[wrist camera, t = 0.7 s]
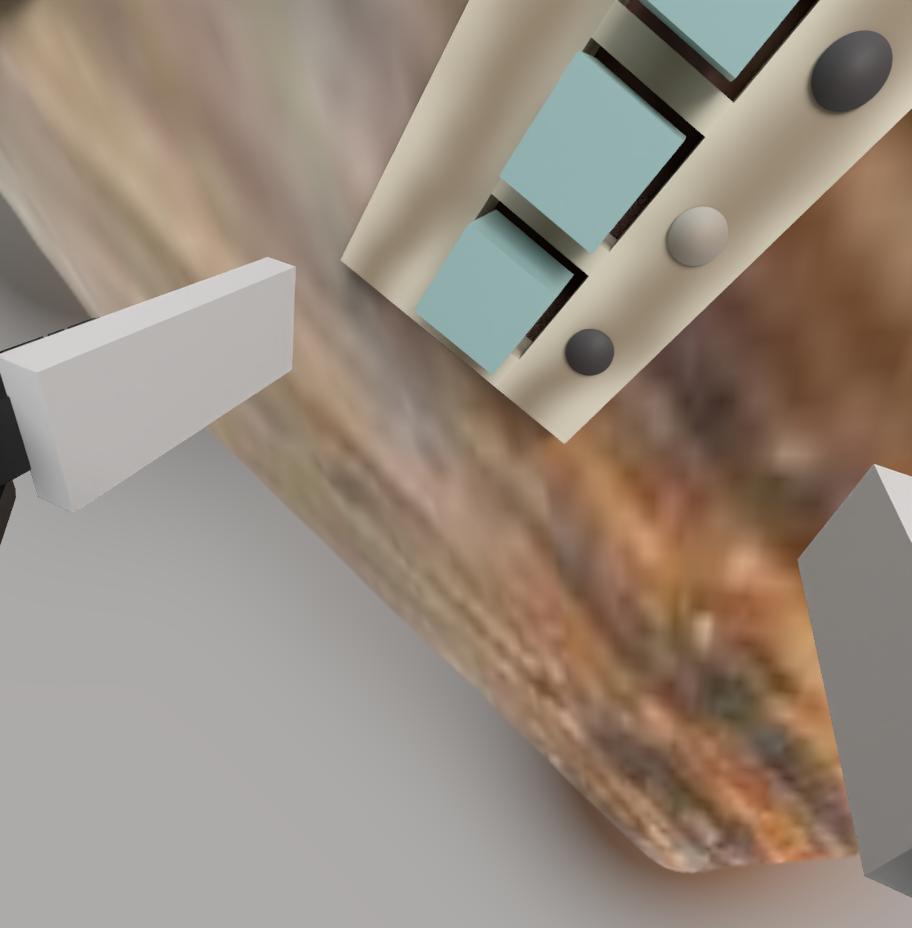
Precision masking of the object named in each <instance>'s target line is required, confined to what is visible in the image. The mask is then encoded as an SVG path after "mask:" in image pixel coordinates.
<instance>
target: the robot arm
mask: <svg viewBox="0 0 912 928" xmlns="http://www.w3.org/2000/svg"><path fill="white" fill-rule="evenodd" d="M295 270H296V267H295V266H292V265H289V264H286V263H283V262H281V261H278V260H275V259H272V258H269V257H266V258H264V259H261V260H258V261H255V262H253V263H250V264H247V265H244V266H242V267H239V268H236V269H233V270H230V271H228V272H225V273H222V274H219V275H217V276H214V277H211V278H208V279H205V280H203V281H200V282H197V283H194V284H192V285H189V286H186V287H183V288H181V289H178V290H175V291H172V292H169V293H167V294H164V295H161V296H158V297H156V298H153V299H150V300H147V301H145V302H142V303H139V304H136V305H133V306H131V307H128V308H125V309H122V310H120V311H117V312H114V313H111V314H108V315H106V316H103V317H99V318H93V319H90V320H87V321H84V322H81V323H79V324H76V325H73V326H70V327H68V329H67V330H64V329H62V330H59V331H56V332H54V333H51V334H48V336H47V337H39V338H37V339H34V340H31V341H28V342H25V343H23V344H20V345H17V346H14V347H11V348H9V349H6V350H3V351H1V352H0V544H1V541H2V538H3V535H4V532H5V529H6V526H7V523H8V520H9V517H10V513H11V511H12V508H13V505H14V501H15V498H16V494H15V487H14V483H13V479H15V478H17V477H18V476H20V475H22V474H24V473H26V472H27V471H29V470H30V471H31V475H32V478H33V481H34V484H35V488H36V491H37V494H38V497H39V498H42V499H44V500H46V501H48V502H50V503H53V504H55V505H57V506H59V507H61V508H64V509H66V510H68V511H70V512H72V513H75V512H76V511H78V510H79V509H81V508H83V507H84V506H86V505H87V504H88V503H90V502H92V501H93V500H95V499H96V498H98V497H99V496H101V495H102V494H104V493H105V492H107V491H108V490H110V489H111V488H113V487H114V486H116V485H118V484H119V483H120V482H122V481H123V480H125V479H127V478H128V477H130V476H131V475H133V474H134V473H136V472H137V471H139V470H140V469H141V468H143V467H145V466H146V465H148V464H149V463H151V462H152V461H154V460H155V459H157V458H159V457H160V456H161V455H163V454H165V453H166V452H168V451H169V450H171V449H172V448H174V447H175V446H177V445H178V444H180V443H181V442H182V441H184V440H186V439H187V438H189V437H190V436H192V435H193V434H195V433H197V432H198V431H200V430H201V429H203V428H204V427H206V426H207V425H209V424H210V423H212V422H213V421H215V420H216V419H218V418H219V417H221V416H222V415H224V414H225V413H227V412H228V411H230V410H231V409H233V408H235V407H236V406H238V405H239V404H241V403H242V402H244V401H245V400H247V399H248V398H250V397H251V396H253V395H254V394H256V393H257V392H259V391H260V390H262V389H263V388H265V387H266V386H268V385H269V384H271V383H273V382H274V381H276V380H277V379H279V378H280V377H282V376H283V375H285V374H286V373H288V372H289V371H291V370H292V360H293V330H294V300H295ZM798 565H799V569H800V574H801V579H802V584H803V588H804V593H805V598H806V602H807V607H808V612H809V617H810V621H811V626H812V631H813V636H814V640H815V645H816V650H817V654H818V659H819V664H820V669H821V673H822V678H823V683H824V687H825V692H826V697H827V702H828V706H829V711H830V716H831V720H832V725H833V730H834V735H835V739H836V744H837V749H838V754H839V758H840V763H841V768H842V772H843V777H844V782H845V787H846V791H847V796H848V801H849V805H850V810H851V815H852V820H853V824H854V829H855V834H856V838H857V843H858V848H859V853H860V857H861V862H862V867H863V872H864V875H865V876H866V877H868V878H870V879H872V880H875V881H877V882H879V883H881V884H883V885H885V886H888V887H890V888H892V889H894V890H896V891H899V892H901V893H903V894H905V895H907V896H910V897H912V477H911V476H908V475H905V474H902V473H899V472H896V471H893V470H890V469H887V468H884V467H881V466H878V465H876V464H873V465H872V467H871V468H870V469H869V470H868V472H867V473H866V474H865V475H864V477H863V478H862V479H861V481H860V482H859V483H858V484H857V486H856V487H855V488H854V489H853V491H852V492H851V493H850V494H849V496H848V497H847V498H846V499H845V501H844V502H843V503H842V504H841V506H840V507H839V508H838V509H837V511H836V512H835V513H834V514H833V516H832V517H831V518H830V519H829V521H828V522H827V523H826V524H825V526H824V527H823V528H822V529H821V531H820V532H819V533H818V534H817V536H816V537H815V538H814V540H813V541H812V542H811V543H810V545H809V546H808V547H807V548H806V550H805V551H804V552H803V553H802V555H801V556H800V557H799V558H798Z"/></svg>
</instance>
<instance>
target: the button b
mask: <svg viewBox="0 0 912 928" xmlns="http://www.w3.org/2000/svg"><path fill="white" fill-rule="evenodd" d="M685 138H686V136H685V135H684V134H683V133H681V132H680V131H679V130H678V129H677V128H676V127H675V126H673V125H672V124H671V123H670V122H669V121H668V120H667V119H665V118H664V117H663V116H662V115H661V114H660V113H659V112H657V111H656V110H655V109H654V108H653V107H652V106H651V105H649V104H648V103H647V102H646V101H645V100H644V99H643V98H641V97H640V96H639V95H638V94H637V93H636V92H635V91H633V90H632V89H631V88H630V87H629V86H628V85H627V84H625V83H624V82H623V81H622V80H621V79H620V78H619V77H617V76H616V75H615V74H614V73H613V72H612V71H611V70H609V69H608V68H607V67H606V66H605V65H604V64H603V63H601V62H600V61H599V60H598V59H597V58H595V57H593V56H591V55H589V54H586V53H584V52H582V51H580V50H578V52H577V53H576V55H575V56H574V58H573V59H572V61H571V63H570V64H569V66H568V67H567V69H566V70H565V72H564V74H563V75H562V77H561V78H560V80H559V82H558V83H557V85H556V86H555V88H554V89H553V91H552V93H551V94H550V96H549V97H548V99H547V101H546V102H545V104H544V105H543V107H542V108H541V110H540V112H539V113H538V115H537V116H536V118H535V119H534V121H533V123H532V124H531V126H530V127H529V129H528V131H527V132H526V134H525V135H524V137H523V138H522V140H521V142H520V143H519V145H518V146H517V148H516V150H515V151H514V153H513V154H512V156H511V157H510V159H509V161H508V162H507V164H506V165H505V167H504V169H503V170H502V172H501V173H500V175H499V176H500V177H501V178H502V179H503V180H504V181H506V182H507V183H508V184H509V185H510V186H511V187H513V188H514V189H515V190H516V191H517V192H519V193H520V194H521V195H522V196H523V197H524V198H526V199H527V200H528V201H529V202H530V203H531V204H533V205H534V206H535V207H536V208H537V209H539V210H540V211H541V212H542V213H543V214H544V215H546V216H547V217H548V218H549V219H550V220H552V221H553V222H554V223H555V224H556V225H557V226H559V227H560V228H561V229H562V230H563V231H565V232H566V233H567V234H568V235H569V236H570V237H572V238H573V239H574V240H575V241H576V242H577V243H579V244H580V245H581V246H582V247H583V248H585V249H586V250H587V251H588V252H589V253H590V254H592V253H593V252H594V251H595V250H596V248H597V247H598V246H599V245H600V243H601V242H602V241H603V240H604V239H605V237H606V236H607V235H608V234H609V232H610V231H611V230H612V229H613V228H614V226H615V225H616V224H617V223H618V221H619V220H620V219H621V218H622V217H623V215H624V214H625V213H626V212H627V210H628V209H629V208H630V207H631V206H632V204H633V203H634V202H635V201H636V199H637V198H638V197H639V196H640V195H641V193H642V192H643V191H644V190H645V188H646V187H647V186H648V185H649V183H650V182H651V181H652V180H653V179H654V177H655V176H656V175H657V174H658V172H659V171H660V170H661V169H662V168H663V166H664V165H665V164H666V163H667V161H668V160H669V159H670V158H671V157H672V155H673V154H674V153H675V152H676V150H677V149H678V148H679V147H680V146H681V144H682V143H683V142H684V140H685Z"/></svg>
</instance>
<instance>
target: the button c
mask: <svg viewBox="0 0 912 928" xmlns="http://www.w3.org/2000/svg"><path fill="white" fill-rule="evenodd" d="M638 1H640V2H641V3H642V4H643V5H644V6H645V7H646V8H647V9H649V10H650V11H651V12H652V13H653V14H654V15H655V16H657V17H658V18H659V19H660V20H661V21H662V22H663V23H664V24H666V25H667V26H668V27H669V28H670V29H671V30H672V31H673V32H675V33H676V34H677V35H678V36H679V37H680V38H681V39H682V40H684V41H685V42H686V43H687V44H688V45H689V46H690V47H691V48H693V49H694V50H695V51H696V52H697V53H698V54H699V55H701V56H702V57H703V58H704V59H705V60H706V61H707V62H708V63H710V64H711V65H712V66H713V67H714V68H715V69H716V70H717V71H719V72H720V73H721V74H722V75H723V76H724V77H725V78H726V79H728V80H729V81H730V82H732V81H733V80H734V79H735V78H736V77H737V76H738V74H739V73H740V72H741V71H742V70H743V68H744V67H745V66H746V65H747V63H748V62H749V61H750V60H751V59H752V57H753V56H754V55H755V54H756V52H757V51H758V50H759V49H760V48H761V46H762V45H763V44H764V43H765V41H766V40H767V39H768V38H769V37H770V35H771V34H772V33H773V32H774V30H775V29H776V28H777V27H778V26H779V24H780V23H781V22H782V21H783V19H784V18H785V17H786V16H787V14H788V13H789V12H790V11H791V10H792V8H793V7H794V6H795V5H796V3H797V2H798V1H799V0H638Z"/></svg>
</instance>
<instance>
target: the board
mask: <svg viewBox="0 0 912 928" xmlns="http://www.w3.org/2000/svg"><path fill="white" fill-rule="evenodd" d="M629 2H630V0H469V2H468V4H467V6H466V8H465V10H464V12H463V14H462V16H461V18H460V20H459V22H458V24H457V26H456V28H455V30H454V32H453V34H452V36H451V38H450V40H449V42H448V44H447V46H446V48H445V50H444V52H443V54H442V56H441V58H440V60H439V62H438V64H437V66H436V68H435V70H434V72H433V75H432V77H431V79H430V81H429V83H428V85H427V87H426V89H425V91H424V93H423V95H422V97H421V99H420V101H419V103H418V105H417V107H416V109H415V111H414V113H413V115H412V117H411V119H410V121H409V123H408V125H407V127H406V129H405V131H404V133H403V135H402V137H401V139H400V141H399V143H398V145H397V147H396V149H395V151H394V153H393V155H392V157H391V159H390V161H389V163H388V165H387V167H386V169H385V171H384V173H383V175H382V177H381V179H380V181H379V183H378V185H377V187H376V189H375V191H374V194H373V196H372V198H371V200H370V202H369V204H368V206H367V208H366V210H365V212H364V214H363V216H362V218H361V220H360V222H359V224H358V226H357V228H356V230H355V232H354V234H353V236H352V238H351V240H350V242H349V244H348V246H347V248H346V250H345V252H344V254H343V256H342V258H341V261H342V262H343V263H345V264H346V265H347V266H348V267H349V268H351V269H352V270H353V271H354V272H355V273H357V274H358V275H359V276H360V277H362V278H363V279H364V280H365V281H366V282H368V283H369V284H370V285H371V286H373V287H374V288H375V289H376V290H377V291H379V292H380V293H381V294H382V295H384V296H385V297H386V298H387V299H388V300H390V301H391V302H392V303H393V304H394V305H396V306H397V307H398V308H399V309H401V310H402V311H403V312H404V313H405V314H407V315H408V316H409V317H410V318H412V319H413V320H414V321H415V322H416V323H418V324H419V325H420V326H421V327H423V328H424V329H425V330H426V331H427V332H429V333H430V334H431V335H432V336H433V337H435V338H436V339H437V340H438V341H440V342H441V343H442V344H443V345H444V346H446V347H447V348H448V349H449V350H451V351H452V352H453V353H454V354H455V355H457V356H458V357H459V358H460V359H461V360H463V361H464V362H465V363H466V364H468V365H469V366H470V367H471V368H472V369H474V370H475V371H476V372H477V373H479V374H480V375H481V376H482V377H483V378H485V379H486V380H487V381H488V382H490V383H491V384H492V385H493V386H494V387H496V388H497V389H498V390H499V391H500V392H502V393H503V394H504V395H505V396H507V397H508V398H509V399H510V400H511V401H513V402H514V403H515V404H516V405H518V406H519V407H520V408H521V409H522V410H524V411H525V412H526V413H527V414H529V415H530V416H531V417H532V418H533V419H535V420H536V421H537V422H538V423H539V424H541V425H542V426H543V427H544V428H546V429H547V430H548V431H549V432H550V433H552V434H553V435H554V436H555V437H557V438H558V439H559V440H560V441H561V442H563V443H564V444H565V443H566V442H567V441H568V440H569V439H570V438H571V437H572V436H573V435H574V434H575V433H576V432H577V431H578V430H579V429H580V428H581V427H583V426H584V425H585V424H586V423H587V422H588V421H589V420H590V419H591V418H592V417H593V416H594V415H595V414H596V413H597V412H598V411H599V410H600V409H601V408H602V407H603V406H604V405H605V404H606V403H607V402H608V401H609V400H610V399H611V398H613V397H614V396H615V395H616V394H617V393H618V392H619V391H620V390H621V389H622V388H623V387H624V386H625V385H626V384H627V383H628V382H629V381H630V380H631V379H632V378H633V377H634V376H635V375H636V374H637V373H638V372H639V371H640V370H641V369H643V368H644V367H645V366H646V365H647V364H648V363H649V362H650V361H651V360H652V359H653V358H654V357H655V356H656V355H657V354H658V353H659V352H660V351H661V350H662V349H663V348H664V347H665V346H666V345H667V344H668V343H669V342H670V341H672V340H673V339H674V338H675V337H676V336H677V335H678V334H679V333H680V332H681V331H682V330H683V329H684V328H685V327H686V326H687V325H688V324H689V323H690V322H691V321H692V320H693V319H694V318H695V317H696V316H697V315H698V314H699V313H700V312H702V311H703V310H704V309H705V308H706V307H707V306H708V305H709V304H710V303H711V302H712V301H713V300H714V299H715V298H716V297H717V296H718V295H719V294H720V293H721V292H722V291H723V290H724V289H725V288H726V287H727V286H728V285H729V284H731V283H732V282H733V281H734V280H735V279H736V278H737V277H738V276H739V275H740V274H741V273H742V272H743V271H744V270H745V269H746V268H747V267H748V266H749V265H750V264H751V263H752V262H753V261H754V260H755V259H756V258H757V257H758V256H759V255H761V254H762V253H763V252H764V251H765V250H766V249H767V248H768V247H769V246H770V245H771V244H772V243H773V242H774V241H775V240H776V239H777V238H778V237H779V236H780V235H781V234H782V233H783V232H784V231H785V230H786V229H787V228H788V227H790V226H791V225H792V224H793V223H794V222H795V221H796V220H797V219H798V218H799V217H800V216H801V215H802V214H803V213H804V212H805V211H806V210H807V209H808V208H809V207H810V206H811V205H812V204H813V203H814V202H815V201H816V200H817V199H818V198H820V197H821V196H822V195H823V194H824V193H825V192H826V191H827V190H828V189H829V188H830V187H831V186H832V185H833V184H834V183H835V182H836V181H837V180H838V179H839V178H840V177H841V176H842V175H843V174H844V173H845V172H846V171H847V170H849V169H850V168H851V167H852V166H853V165H854V164H855V163H856V162H857V161H858V160H859V159H860V158H861V157H862V156H863V155H864V154H865V153H866V152H867V151H868V150H869V149H870V148H871V147H872V146H873V145H874V144H875V143H876V142H877V141H879V140H880V139H881V138H882V137H883V136H884V135H885V134H886V133H887V132H888V131H889V130H890V129H891V128H892V127H893V126H894V125H895V124H896V123H897V122H898V121H899V120H900V119H901V118H902V117H903V116H904V115H905V114H906V113H908V112H909V111H910V110H911V109H912V0H817V1H816V2H815V3H814V4H813V6H812V7H811V8H810V9H809V10H808V12H807V13H806V14H805V15H804V16H803V18H802V19H801V20H800V21H799V22H798V24H797V25H796V26H795V27H794V28H793V30H792V31H791V32H790V33H789V34H788V36H787V37H786V38H785V39H784V40H783V42H782V43H781V44H780V45H779V46H778V48H777V49H776V50H775V51H774V52H773V54H772V55H771V56H770V57H769V58H768V60H767V61H766V62H765V63H764V64H763V66H762V67H761V68H760V69H759V70H758V72H757V73H756V74H755V75H754V76H753V78H752V79H751V80H750V81H749V82H748V84H747V85H746V86H745V87H744V88H743V90H742V91H741V92H740V93H739V94H738V96H737V97H736V98H735V99H734V100H733V102H732V101H731V100H730V99H729V98H728V97H727V96H725V95H724V94H723V93H722V92H721V91H720V90H719V89H718V88H716V87H715V86H714V85H713V84H712V83H711V82H710V81H709V80H707V79H706V78H705V77H704V76H703V75H702V74H701V73H699V72H698V71H697V70H696V69H695V68H694V67H693V66H692V65H690V64H689V63H688V62H687V61H686V60H685V59H684V58H682V57H681V56H680V55H679V54H678V53H677V52H676V51H675V50H673V49H672V48H671V47H670V46H669V45H668V44H667V43H665V42H664V41H663V40H662V39H661V38H660V37H659V36H658V35H656V34H655V33H654V32H653V31H652V30H651V29H650V28H649V27H647V26H646V25H645V24H644V23H643V22H642V21H641V20H639V19H638V18H637V17H636V16H635V15H634V14H633V13H632V12H630V11H629V10H628V9H627V8H626V6H627V5H628V3H629ZM600 46H602V47H603V48H604V49H605V50H606V51H607V52H609V53H610V54H611V55H612V56H613V57H614V58H615V59H617V60H618V61H619V62H620V63H621V64H622V65H623V66H625V67H626V68H627V69H628V70H629V71H630V72H631V73H633V74H634V75H635V76H636V77H637V78H638V79H639V80H641V81H642V82H643V83H644V84H645V85H646V86H647V87H649V88H650V89H651V90H652V91H653V92H654V93H655V94H657V95H658V96H659V97H660V98H661V99H662V100H663V101H665V102H666V103H667V104H668V105H669V106H670V107H671V108H673V109H674V110H675V111H676V112H677V113H678V114H679V115H681V116H682V117H683V118H684V119H685V120H686V121H687V122H689V123H690V124H691V125H692V126H693V127H694V128H695V129H697V130H698V131H699V132H700V133H701V134H702V135H703V138H702V139H701V140H700V141H699V142H698V144H697V145H696V146H695V147H694V148H693V150H692V151H691V152H690V153H689V154H688V156H687V157H686V158H685V159H684V160H683V162H682V163H681V164H680V165H679V166H678V168H677V169H676V170H675V171H674V172H673V174H672V175H671V176H670V177H669V178H668V179H667V181H666V182H665V183H664V184H663V185H662V187H661V188H660V189H659V190H658V191H657V193H656V194H655V195H654V196H653V197H652V199H651V200H650V201H649V202H648V203H647V205H646V206H645V207H644V208H643V209H642V211H641V212H640V213H639V214H638V215H637V217H636V218H635V219H634V220H633V221H632V223H631V224H630V225H629V226H628V227H627V229H626V230H625V231H624V232H623V233H622V235H621V236H620V237H619V238H618V239H616V238H614V237H613V236H612V235H611V234H610V233H609V234H608V235H607V236H606V237H605V239H604V240H603V241H602V242H601V243H600V245H599V246H598V247H597V248H596V250H595V251H594V252H593V253H592V254H590V253H589V252H588V251H587V250H586V249H585V248H583V247H582V246H581V245H580V244H579V243H577V242H576V241H575V240H574V239H573V238H572V237H570V236H569V235H568V234H567V233H566V232H565V231H563V230H562V229H561V228H560V227H559V226H557V225H556V224H555V223H554V222H553V221H552V220H550V219H549V218H548V217H547V216H546V215H544V214H543V213H542V212H541V211H540V210H539V209H537V208H536V207H535V206H534V205H533V204H531V203H530V202H529V201H528V200H527V199H526V198H524V197H523V196H522V195H521V194H520V193H519V192H517V191H516V190H515V189H514V188H513V187H511V186H510V185H509V184H508V183H507V182H506V181H504V180H503V179H502V178H501V177H500V176H499V175H500V173H501V172H502V170H503V169H504V167H505V165H506V164H507V162H508V161H509V159H510V157H511V156H512V154H513V153H514V151H515V150H516V148H517V146H518V145H519V143H520V142H521V140H522V138H523V137H524V135H525V134H526V132H527V131H528V129H529V127H530V126H531V124H532V123H533V121H534V119H535V118H536V116H537V115H538V113H539V112H540V110H541V108H542V107H543V105H544V104H545V102H546V101H547V99H548V97H549V96H550V94H551V93H552V91H553V89H554V88H555V86H556V85H557V83H558V82H559V80H560V78H561V77H562V75H563V74H564V72H565V70H566V69H567V67H568V66H569V64H570V63H571V61H572V59H573V58H574V56H575V55H576V53H577V52H578V50H580V51H582V52H584V53H586V54H589V55H591V56H593V57H594V55H595V54H596V52H597V51H598V49H599V48H600ZM499 201H501V202H502V203H503V204H504V205H505V206H506V207H508V208H509V209H510V210H511V211H512V212H514V213H515V214H516V215H517V216H518V217H519V218H521V219H522V220H523V221H524V222H525V223H527V224H528V225H529V226H530V227H531V228H532V229H534V230H535V231H536V232H537V233H538V234H540V235H541V236H542V237H543V238H544V239H545V240H547V241H548V242H549V243H550V244H551V245H553V246H554V247H555V248H556V249H557V250H559V251H560V252H561V253H562V254H563V255H564V256H566V257H567V258H568V259H569V260H570V261H572V262H573V263H574V264H575V265H576V266H577V267H579V268H580V269H581V270H582V271H583V272H585V273H586V274H587V277H586V278H585V279H584V280H583V281H582V283H581V284H580V285H579V286H578V287H577V289H576V290H575V291H574V292H573V293H572V295H571V296H570V297H569V298H568V299H567V301H566V302H565V303H564V304H563V305H562V307H561V308H560V309H559V310H558V311H557V313H556V314H555V315H554V316H553V317H552V319H551V320H550V321H549V322H548V323H547V325H546V326H545V327H544V328H543V329H542V331H541V332H540V333H539V334H538V335H537V337H536V338H535V339H534V340H533V341H532V340H530V339H529V338H528V337H527V336H526V335H525V337H524V338H523V339H522V340H521V341H520V343H519V344H518V345H517V346H516V348H515V349H514V350H513V351H512V352H511V354H510V355H509V356H508V357H507V359H506V360H505V361H504V362H503V363H502V365H501V366H500V367H499V368H498V370H497V371H496V372H495V373H494V375H491V374H490V373H489V372H488V371H487V370H485V369H484V368H483V367H482V366H481V365H479V364H478V363H477V362H476V361H474V360H473V359H472V358H471V357H470V356H468V355H467V354H466V353H465V352H464V351H462V350H461V349H460V348H459V347H457V346H456V345H455V344H454V343H453V342H451V341H450V340H449V339H448V338H446V337H445V336H444V335H443V334H442V333H440V332H439V331H438V330H437V329H436V328H434V327H433V326H432V325H431V324H429V323H428V322H427V321H426V320H425V319H423V318H422V317H421V316H420V315H418V314H417V313H416V312H415V311H414V309H415V308H416V306H417V304H418V303H419V301H420V300H421V298H422V297H423V295H424V293H425V292H426V290H427V289H428V287H429V285H430V284H431V282H432V281H433V279H434V278H435V276H436V274H437V273H438V271H439V270H440V268H441V267H442V265H443V263H444V262H445V260H446V259H447V257H448V255H449V254H450V252H451V251H452V249H453V248H454V246H455V244H456V243H457V241H458V240H459V238H460V236H461V235H462V233H463V232H464V230H465V229H466V227H467V225H468V224H469V223H470V222H472V221H474V220H476V219H478V218H480V217H482V216H484V215H486V214H488V213H490V212H493V210H494V209H495V207H496V205H497V204H498V202H499Z"/></svg>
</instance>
